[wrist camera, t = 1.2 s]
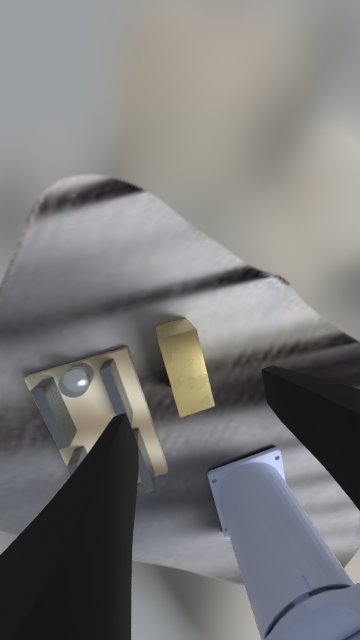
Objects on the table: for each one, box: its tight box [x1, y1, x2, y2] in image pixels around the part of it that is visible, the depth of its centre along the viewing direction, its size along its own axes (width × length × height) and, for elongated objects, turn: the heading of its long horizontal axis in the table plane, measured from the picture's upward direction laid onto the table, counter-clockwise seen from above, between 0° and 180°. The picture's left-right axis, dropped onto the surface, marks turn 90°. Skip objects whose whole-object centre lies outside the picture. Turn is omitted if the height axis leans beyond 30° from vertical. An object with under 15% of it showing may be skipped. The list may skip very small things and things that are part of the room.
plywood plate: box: [24, 346, 168, 483], centre depth 17 cm, size 13×8×1 cm, turn 14°
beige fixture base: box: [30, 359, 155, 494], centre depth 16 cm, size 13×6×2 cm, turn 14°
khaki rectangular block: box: [156, 318, 215, 417], centre depth 15 cm, size 6×3×4 cm, turn 14°
